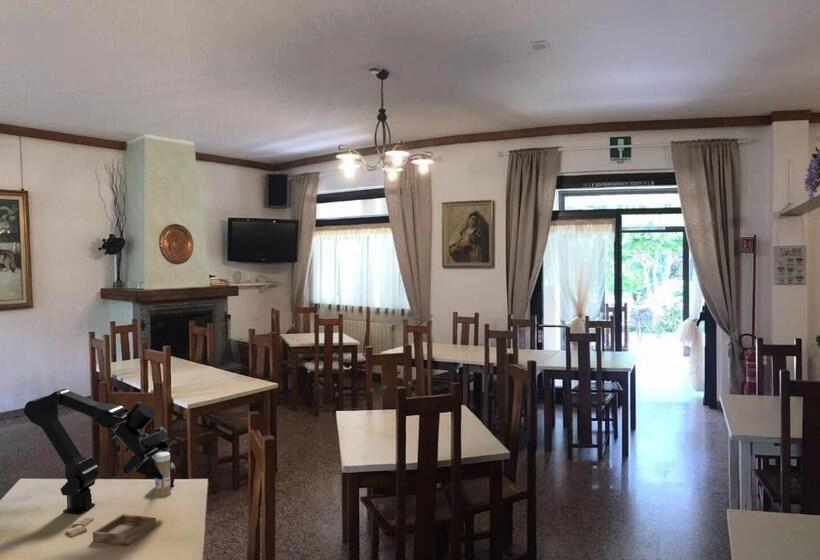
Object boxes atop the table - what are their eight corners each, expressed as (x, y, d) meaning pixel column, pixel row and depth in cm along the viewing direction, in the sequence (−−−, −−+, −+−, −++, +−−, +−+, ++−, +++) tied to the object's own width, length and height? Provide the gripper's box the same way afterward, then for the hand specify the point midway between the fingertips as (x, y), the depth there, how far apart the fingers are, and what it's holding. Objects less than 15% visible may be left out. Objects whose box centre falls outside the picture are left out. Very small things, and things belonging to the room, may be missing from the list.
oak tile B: (66, 534, 164) (65, 530, 164) (80, 528, 167) (80, 525, 167) (72, 538, 161) (72, 534, 161) (86, 532, 164) (86, 528, 164)
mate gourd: (161, 481, 199) (159, 440, 199) (182, 482, 199) (180, 441, 198) (149, 490, 192) (147, 448, 191) (171, 491, 191) (169, 448, 190)
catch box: (93, 541, 159) (92, 532, 158) (123, 521, 170) (122, 513, 170) (127, 545, 156) (127, 537, 156) (156, 525, 167) (155, 517, 167)
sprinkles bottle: (172, 496, 174) (171, 454, 173) (156, 500, 171) (155, 457, 171) (169, 491, 178) (168, 450, 177) (154, 495, 175) (152, 453, 174)
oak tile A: (72, 527, 168) (72, 523, 167) (81, 521, 172) (81, 517, 171) (85, 528, 167) (85, 524, 167) (93, 521, 171) (93, 518, 171)
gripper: (129, 431, 165) (165, 470, 163) (167, 413, 183) (199, 448, 182) (106, 456, 166) (141, 494, 165) (145, 435, 185) (177, 470, 184)
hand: (166, 475), depth 174 cm, fingers closed on sprinkles bottle, 4 cm apart
